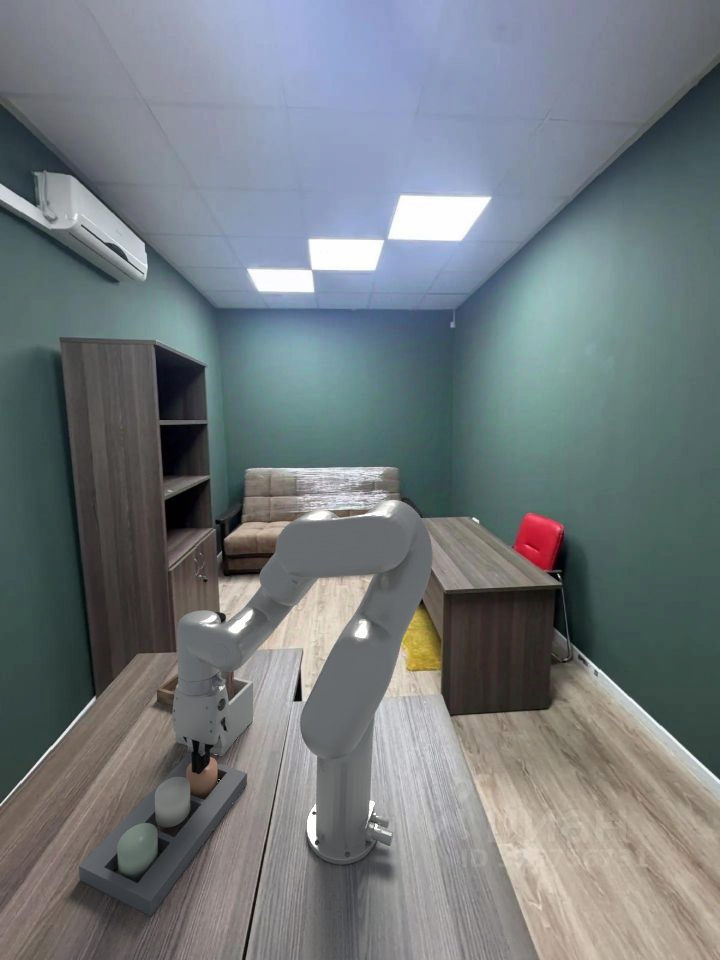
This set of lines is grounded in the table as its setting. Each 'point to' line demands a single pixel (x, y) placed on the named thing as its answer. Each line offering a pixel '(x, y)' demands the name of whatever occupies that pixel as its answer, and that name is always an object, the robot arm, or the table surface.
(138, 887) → the pebble holder tray
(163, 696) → the walnut deck tray
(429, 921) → the table surface
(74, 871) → the table surface
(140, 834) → the sage egg
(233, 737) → the grey open box
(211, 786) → the terracotta egg
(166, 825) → the cream egg
